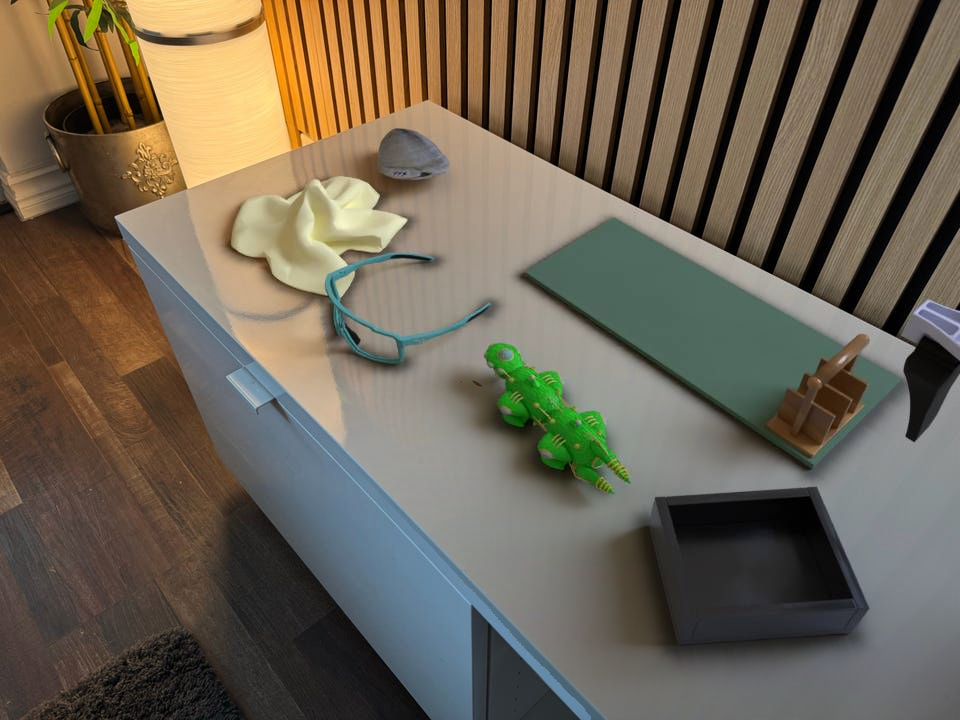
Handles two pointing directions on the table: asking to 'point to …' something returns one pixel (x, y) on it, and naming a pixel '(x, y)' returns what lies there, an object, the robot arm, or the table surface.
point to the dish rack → (822, 401)
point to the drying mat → (698, 326)
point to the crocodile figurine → (553, 417)
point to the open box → (753, 566)
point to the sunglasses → (353, 337)
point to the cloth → (314, 231)
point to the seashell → (410, 156)
